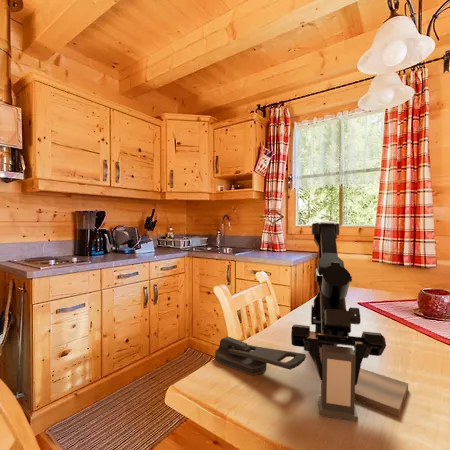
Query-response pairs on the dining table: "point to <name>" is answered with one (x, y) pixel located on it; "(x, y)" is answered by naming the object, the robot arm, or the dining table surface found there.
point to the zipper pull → (253, 357)
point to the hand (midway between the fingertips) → (338, 382)
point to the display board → (380, 392)
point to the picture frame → (338, 383)
